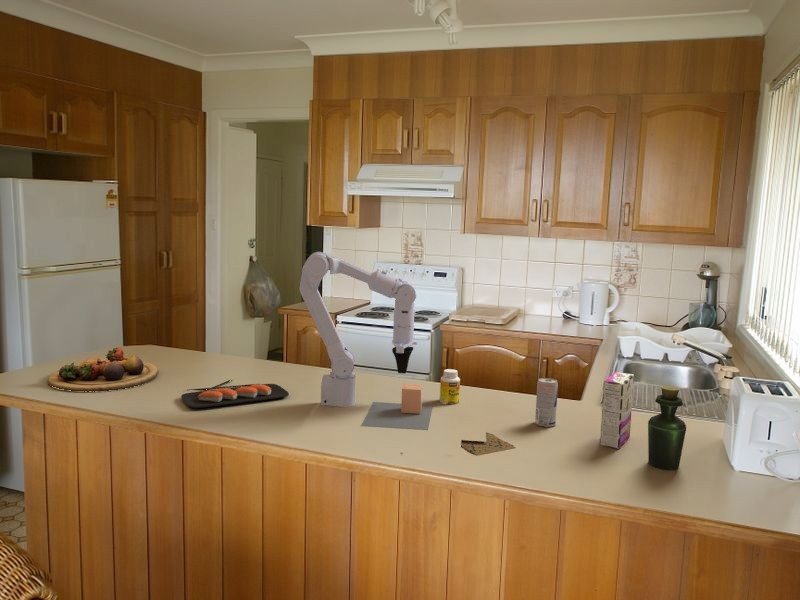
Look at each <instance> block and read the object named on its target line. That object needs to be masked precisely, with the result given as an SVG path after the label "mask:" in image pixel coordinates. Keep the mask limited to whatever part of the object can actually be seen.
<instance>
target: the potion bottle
mask: <svg viewBox="0 0 800 600" xmlns="http://www.w3.org/2000/svg"><path fill="white" fill-rule="evenodd" d="M660 388H661V394H659V395H657V396H656V398H655V400H654V401H655V403H656V404H659V407H660V413H658V414H656V415H653V416H651V417H650V418H649V419H648V422H647V428H648V429H647V432H648V433H647V434H648V435H647V446H648V450H647V451H648V452H647V454H648V455H647V456H648V463H649V465H651V466H652V467H654V468H656V469H659V470H666V471H672V470H676V469H678V468H680V462H681V458H682V453H683V448H684V442H685V436H686V432H687V425H686V422H685V421H684V420H682V418H680V417H678V416H677V415H676V413H677V410H678V407H682V406H684V402H683V399H682V398H681V397H679V396H678V395H679V392H680V387H677V386H674V385H661V387H660Z"/></svg>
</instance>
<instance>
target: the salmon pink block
mask: <svg viewBox="0 0 800 600" xmlns="http://www.w3.org/2000/svg"><path fill="white" fill-rule="evenodd" d="M423 386H424V385H423V384H417V383H416V384H415V383H414V384H413V383H412V384H411V383H403V385H402V387H401V403H400V404H401V413H417V414H420V413H421V409H422V405H423Z"/></svg>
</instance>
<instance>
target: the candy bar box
mask: <svg viewBox="0 0 800 600" xmlns="http://www.w3.org/2000/svg"><path fill="white" fill-rule="evenodd" d="M634 376H635V374H632V373H627V372H620V371H615V372H614V373H612V374H611V375H610V376H609V377H607V378H606V379H605V380H603V389H602V406H601V407H602V408H601V425H600V440H599V441H600V442H599V446H601V447H606V448H611V449H617V450H619V449H621V447H622V446H623V445H624V444H625V442H626V441H627V440H628V439H629V438H630V436H631V424H632V411H633V410H632V409H633V408H632V407H633V394H634V392H633V391H634Z"/></svg>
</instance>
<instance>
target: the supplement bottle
mask: <svg viewBox="0 0 800 600" xmlns="http://www.w3.org/2000/svg"><path fill="white" fill-rule="evenodd" d="M460 386H461V378H460V377H459V376H458V370H456V369H451V368H447V369H446V368H445V369H444V370H443V375H442V376H441V377H440V386H439V388H440V389H439V390H440V391H439V403H440V404H442V405H446V406H447V405H449V406H452V405H453V406H454V405H455V406H456V405H457V404H459V403H460V388H461V387H460Z"/></svg>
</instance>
